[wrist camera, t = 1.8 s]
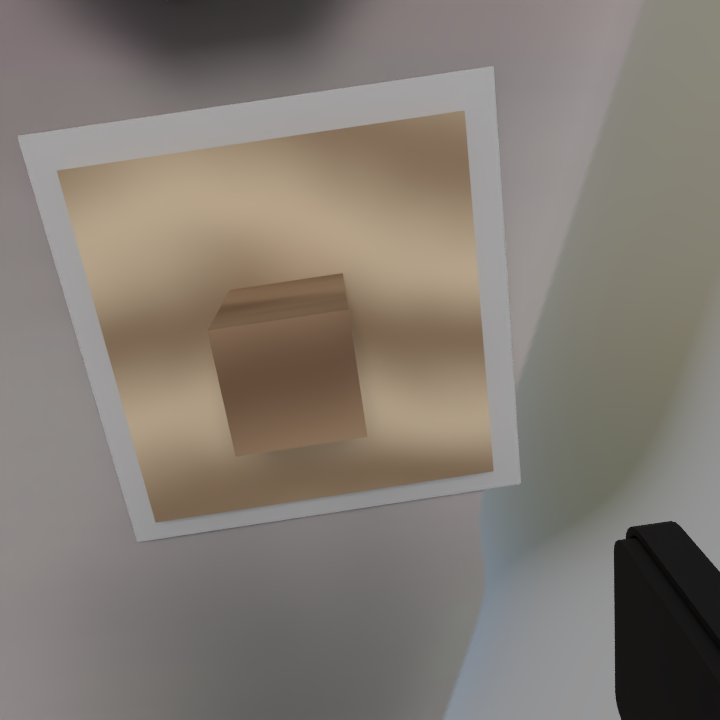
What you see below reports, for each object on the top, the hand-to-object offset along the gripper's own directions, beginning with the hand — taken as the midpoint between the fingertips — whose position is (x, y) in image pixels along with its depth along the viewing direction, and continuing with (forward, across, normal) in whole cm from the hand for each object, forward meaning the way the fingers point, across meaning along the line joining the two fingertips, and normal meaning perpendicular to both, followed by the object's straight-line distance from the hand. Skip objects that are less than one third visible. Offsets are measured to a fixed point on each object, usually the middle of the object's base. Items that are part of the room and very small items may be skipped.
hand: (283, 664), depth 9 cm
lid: (+17, +1, 0) cm, 17 cm away
